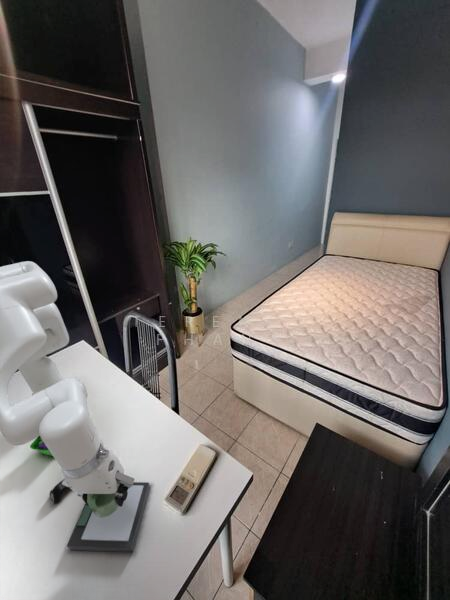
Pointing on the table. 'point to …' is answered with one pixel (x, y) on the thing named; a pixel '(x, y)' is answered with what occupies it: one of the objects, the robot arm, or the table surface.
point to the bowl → (102, 504)
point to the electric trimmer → (58, 492)
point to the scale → (112, 524)
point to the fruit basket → (40, 446)
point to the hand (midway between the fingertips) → (107, 498)
